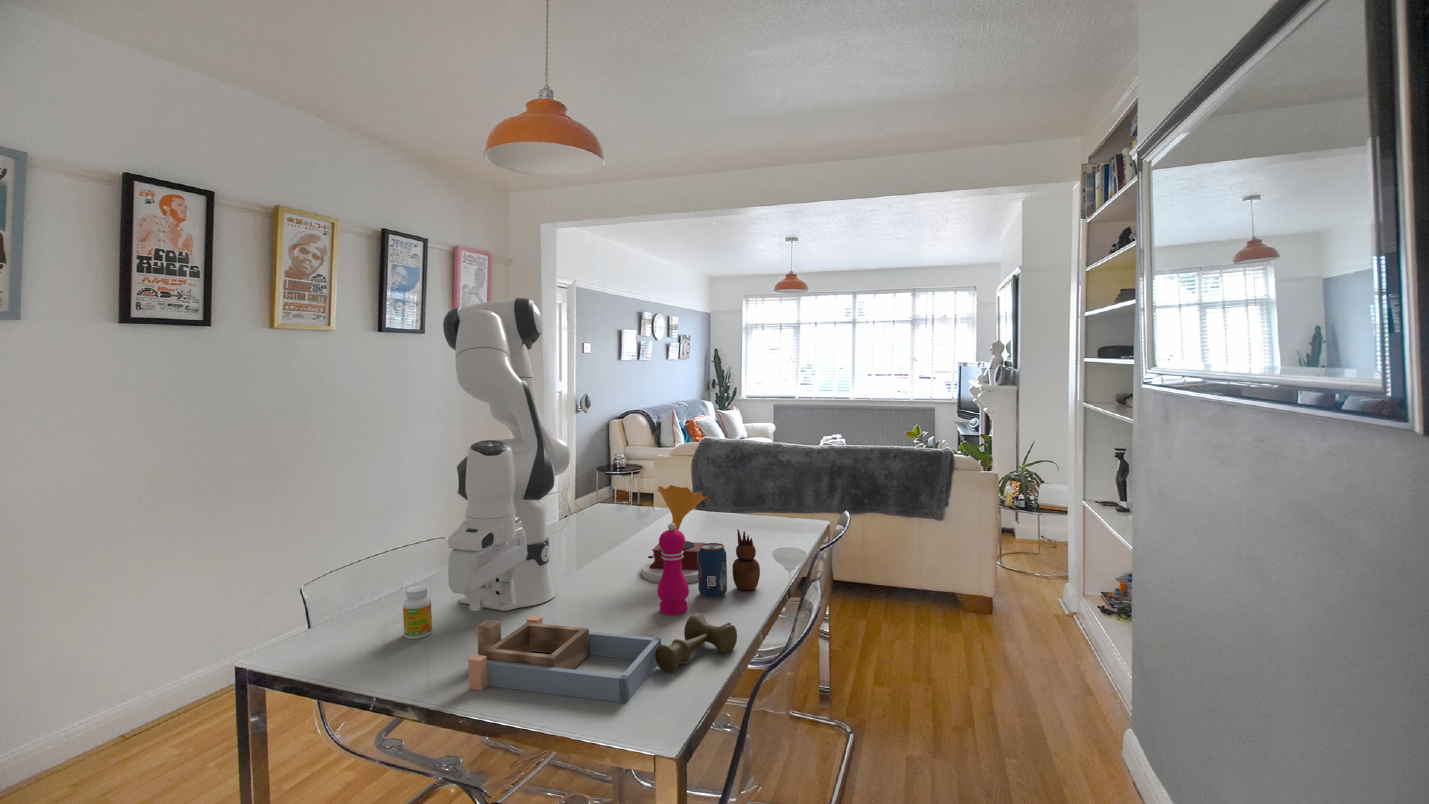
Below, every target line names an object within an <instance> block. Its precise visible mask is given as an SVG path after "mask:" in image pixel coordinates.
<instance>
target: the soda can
mask: <svg viewBox="0 0 1429 804" xmlns="http://www.w3.org/2000/svg"><path fill="white" fill-rule="evenodd" d="M727 568H728V567H727V551H726V549H725V545H724V544H722V543H717V542H706V543H705V544H702V545H701V546H700V550H699V552H698V581H697V583H698V592H699V594H700V595H701V597H703V598H705V599H710V600H711V599H712V600H713V599H721V598H723V597H724V596H725V594H726V593H727V591H728V572H727V570H728V569H727Z"/></svg>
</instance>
